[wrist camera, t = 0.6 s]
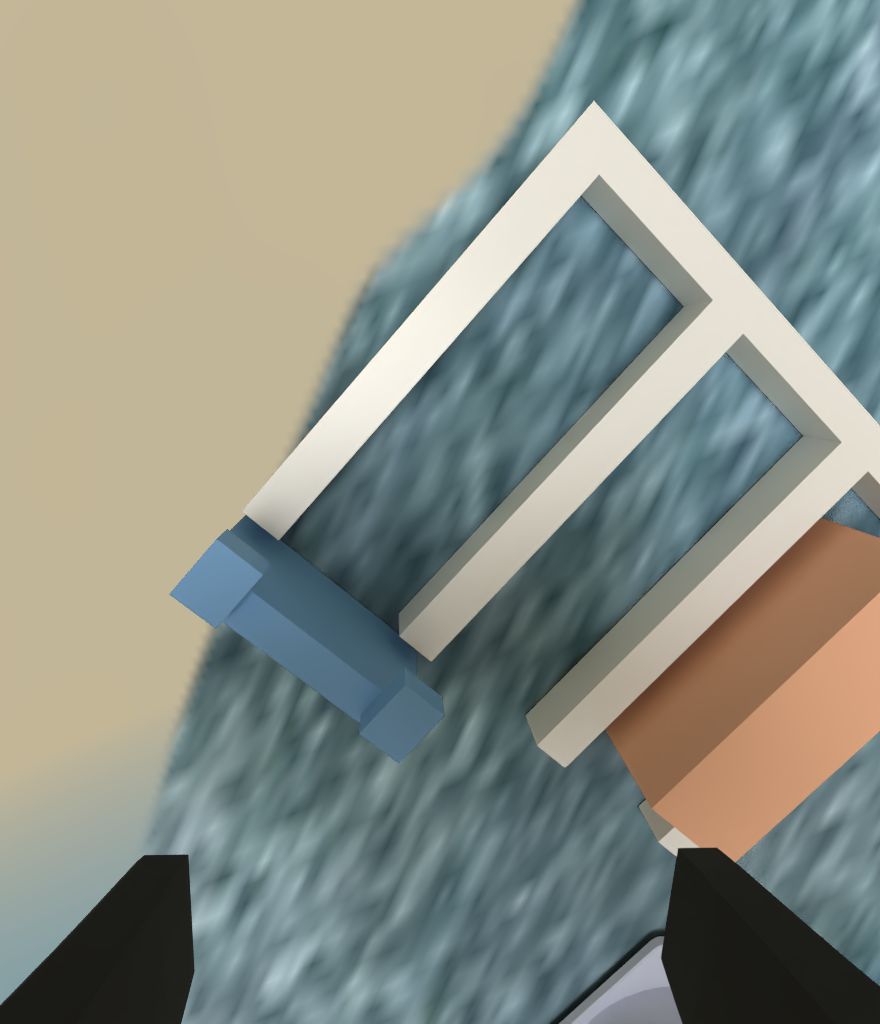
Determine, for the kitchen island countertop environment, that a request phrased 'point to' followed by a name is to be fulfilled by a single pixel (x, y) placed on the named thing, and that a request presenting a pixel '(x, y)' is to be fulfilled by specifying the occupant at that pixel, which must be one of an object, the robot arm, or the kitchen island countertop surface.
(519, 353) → the kitchen island countertop surface
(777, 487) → the comb organizer
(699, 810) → the tall peach block
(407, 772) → the kitchen island countertop surface
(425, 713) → the blue bracket
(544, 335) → the kitchen island countertop surface
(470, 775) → the kitchen island countertop surface
